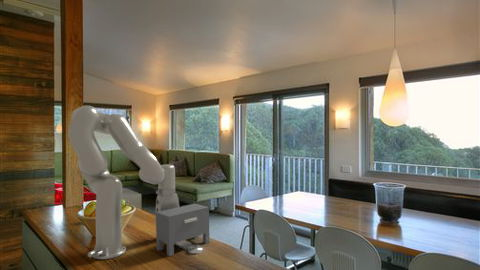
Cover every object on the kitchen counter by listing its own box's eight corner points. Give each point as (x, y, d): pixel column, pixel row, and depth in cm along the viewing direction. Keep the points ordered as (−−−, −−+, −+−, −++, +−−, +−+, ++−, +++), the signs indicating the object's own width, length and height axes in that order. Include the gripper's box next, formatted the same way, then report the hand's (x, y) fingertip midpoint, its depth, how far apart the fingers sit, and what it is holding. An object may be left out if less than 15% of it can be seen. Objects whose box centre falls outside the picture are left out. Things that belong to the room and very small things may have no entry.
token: (199, 255, 118) (199, 251, 118) (185, 253, 120) (185, 250, 120) (205, 249, 124) (205, 245, 124) (191, 248, 125) (191, 244, 125)
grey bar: (186, 250, 122) (186, 229, 122) (157, 236, 138) (157, 217, 138) (196, 247, 126) (196, 226, 126) (166, 233, 142) (166, 214, 142)
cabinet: (170, 256, 116) (169, 217, 116) (156, 249, 124) (155, 212, 124) (210, 242, 131) (210, 207, 130) (195, 237, 138) (195, 203, 138)
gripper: (155, 195, 128) (156, 238, 128) (186, 190, 140) (187, 229, 140) (146, 193, 133) (147, 234, 134) (177, 188, 145) (178, 226, 145)
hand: (167, 231), depth 137 cm, fingers closed on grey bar, 2 cm apart
